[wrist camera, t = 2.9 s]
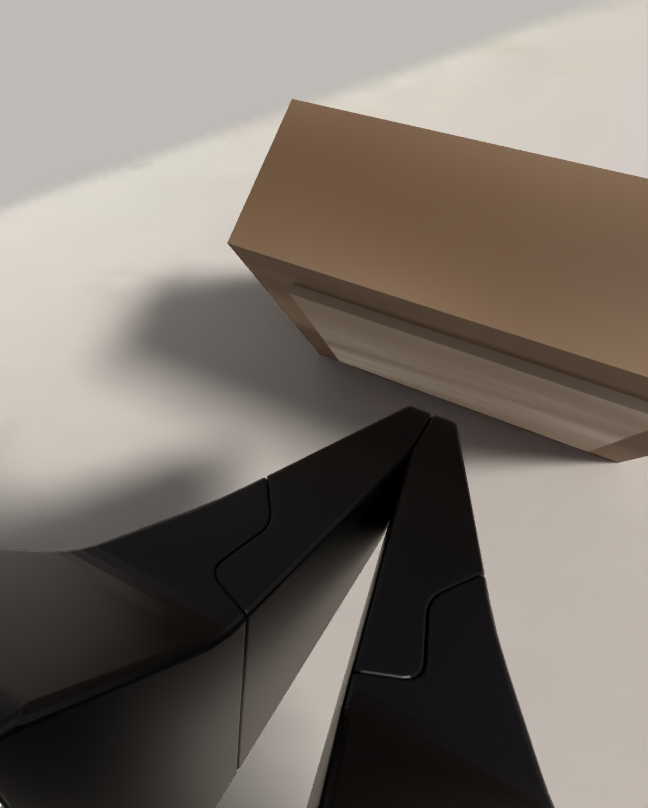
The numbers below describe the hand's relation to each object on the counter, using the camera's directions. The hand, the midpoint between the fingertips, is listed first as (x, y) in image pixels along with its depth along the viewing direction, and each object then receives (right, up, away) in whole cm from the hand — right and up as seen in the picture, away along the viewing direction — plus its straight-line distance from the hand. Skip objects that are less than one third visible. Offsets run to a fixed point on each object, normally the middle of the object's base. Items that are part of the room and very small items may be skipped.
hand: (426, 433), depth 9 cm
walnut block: (+3, +2, +7) cm, 7 cm away
